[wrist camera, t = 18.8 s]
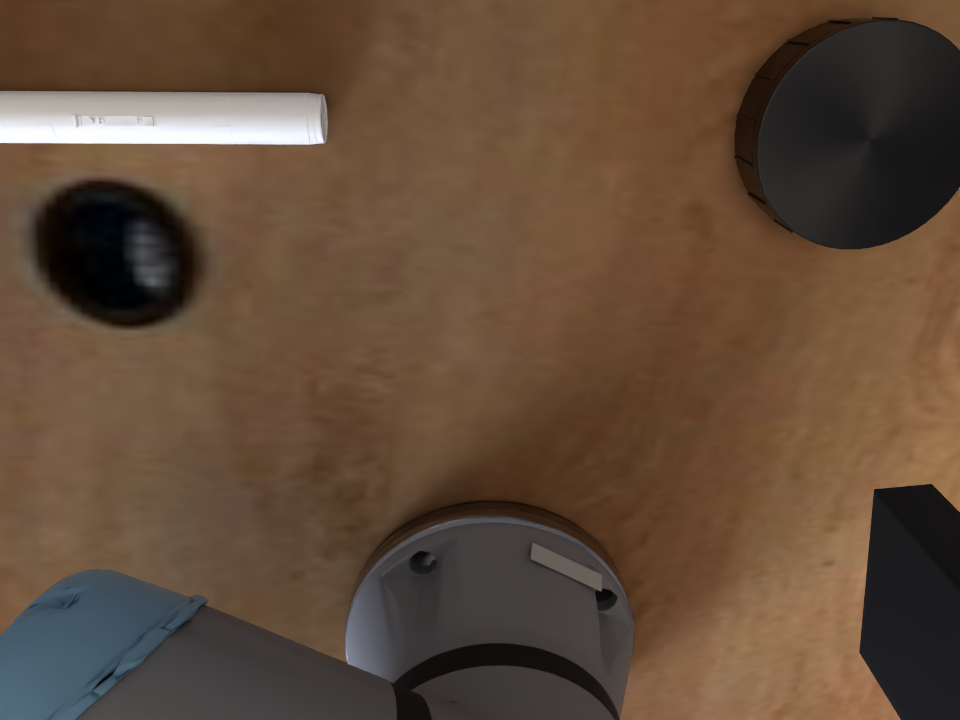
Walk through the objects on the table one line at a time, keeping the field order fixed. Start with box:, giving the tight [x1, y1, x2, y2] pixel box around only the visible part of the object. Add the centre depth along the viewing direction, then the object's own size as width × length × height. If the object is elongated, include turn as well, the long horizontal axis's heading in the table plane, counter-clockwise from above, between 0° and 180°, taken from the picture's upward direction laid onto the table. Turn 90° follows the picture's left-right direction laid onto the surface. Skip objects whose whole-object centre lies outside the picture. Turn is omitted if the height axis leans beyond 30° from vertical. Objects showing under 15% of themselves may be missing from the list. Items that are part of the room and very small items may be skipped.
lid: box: [735, 17, 960, 249], centre depth 36 cm, size 9×9×3 cm
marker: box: [0, 91, 328, 145], centre depth 36 cm, size 18×2×2 cm, turn 90°
